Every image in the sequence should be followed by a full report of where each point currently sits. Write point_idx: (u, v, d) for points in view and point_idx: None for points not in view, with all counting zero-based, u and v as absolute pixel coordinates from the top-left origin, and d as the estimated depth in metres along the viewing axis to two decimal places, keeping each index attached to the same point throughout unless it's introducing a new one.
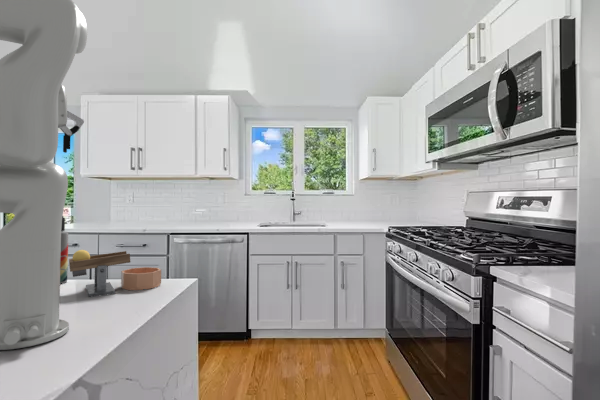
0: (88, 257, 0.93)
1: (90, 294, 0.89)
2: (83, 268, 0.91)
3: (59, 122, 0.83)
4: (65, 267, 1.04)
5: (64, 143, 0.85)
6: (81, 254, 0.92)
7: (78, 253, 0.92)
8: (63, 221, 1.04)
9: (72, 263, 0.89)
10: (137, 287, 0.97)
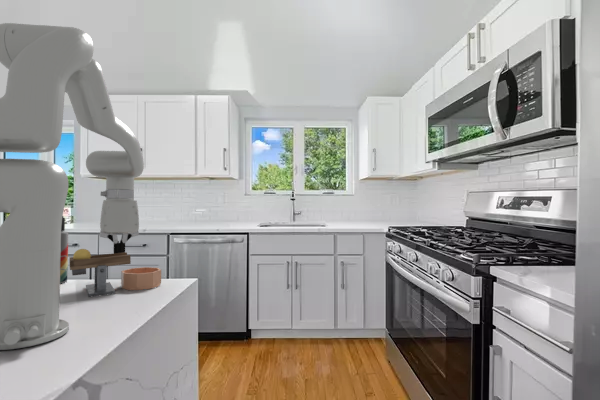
0: (89, 256, 0.93)
1: (90, 294, 0.89)
2: (83, 267, 0.91)
3: (134, 230, 1.06)
4: (65, 267, 1.04)
5: (121, 250, 1.05)
6: (82, 253, 0.92)
7: (79, 252, 0.92)
8: (63, 221, 1.04)
9: (72, 261, 0.89)
10: (137, 287, 0.97)
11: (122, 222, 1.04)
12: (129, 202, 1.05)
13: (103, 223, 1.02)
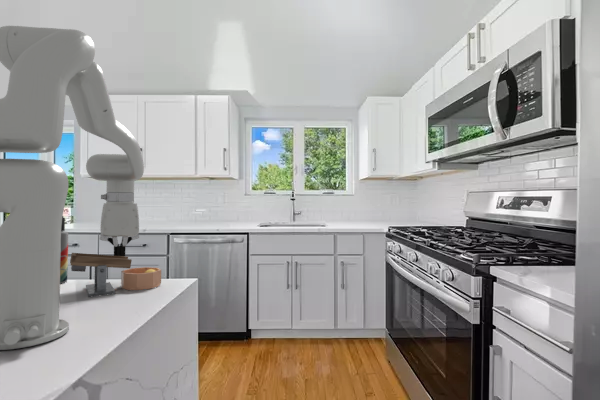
0: None
1: (90, 294, 0.89)
2: (84, 264, 0.91)
3: (134, 233, 1.06)
4: (65, 267, 1.04)
5: (121, 253, 1.05)
6: None
7: None
8: (63, 221, 1.04)
9: (75, 257, 0.90)
10: (137, 287, 0.97)
11: (122, 225, 1.04)
12: (129, 205, 1.06)
13: (103, 226, 1.02)
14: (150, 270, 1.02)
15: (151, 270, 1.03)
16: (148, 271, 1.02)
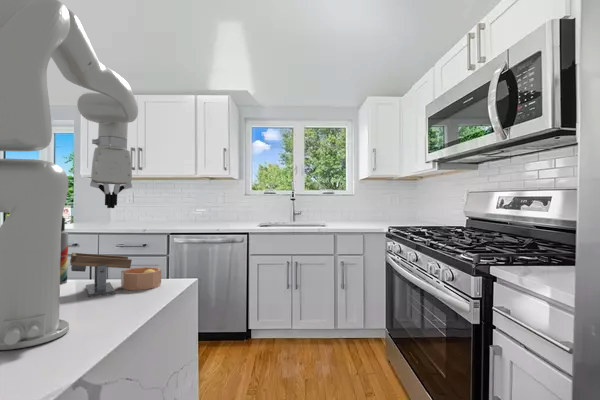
0: None
1: (90, 294, 0.89)
2: (84, 264, 0.91)
3: (126, 181, 1.01)
4: (65, 267, 1.04)
5: (112, 201, 1.00)
6: None
7: None
8: (63, 221, 1.04)
9: (75, 257, 0.90)
10: (137, 287, 0.97)
11: (114, 171, 1.00)
12: (122, 152, 1.01)
13: (94, 171, 0.97)
14: (148, 270, 1.02)
15: (149, 270, 1.02)
16: (146, 272, 1.02)
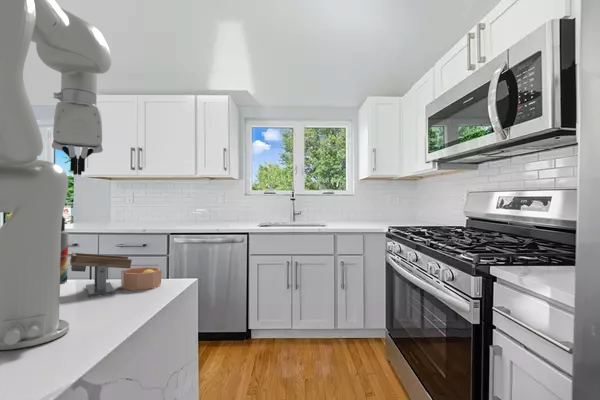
0: None
1: (90, 294, 0.89)
2: (84, 264, 0.91)
3: (95, 143, 0.87)
4: (65, 267, 1.04)
5: (79, 166, 0.86)
6: None
7: None
8: (63, 221, 1.04)
9: (75, 257, 0.90)
10: (137, 287, 0.97)
11: (80, 131, 0.85)
12: (89, 108, 0.86)
13: (55, 129, 0.82)
14: (146, 271, 1.02)
15: (147, 271, 1.02)
16: (144, 272, 1.01)
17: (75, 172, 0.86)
